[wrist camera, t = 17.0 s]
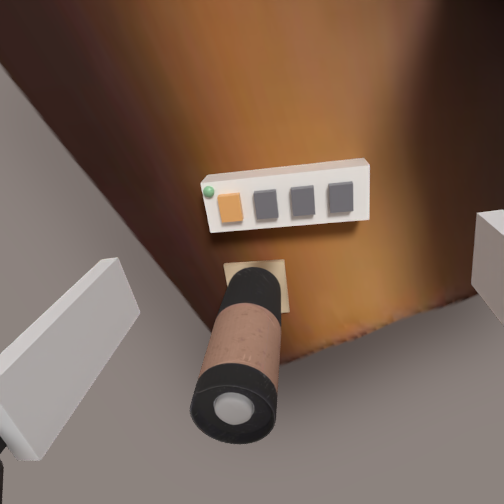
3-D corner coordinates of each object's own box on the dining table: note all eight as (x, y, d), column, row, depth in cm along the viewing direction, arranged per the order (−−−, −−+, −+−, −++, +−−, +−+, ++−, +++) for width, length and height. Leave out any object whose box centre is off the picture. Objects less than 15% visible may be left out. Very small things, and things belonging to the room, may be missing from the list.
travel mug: (291, 302, 48) (291, 436, 31) (242, 318, 51) (214, 452, 33) (268, 256, 46) (253, 374, 28) (217, 275, 48) (171, 396, 30)
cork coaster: (284, 259, 46) (284, 261, 46) (289, 309, 50) (289, 312, 49) (224, 263, 48) (223, 265, 47) (233, 312, 51) (233, 314, 50)
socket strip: (363, 157, 40) (371, 167, 36) (363, 208, 42) (370, 222, 38) (207, 174, 42) (198, 185, 38) (216, 221, 45) (208, 235, 41)
